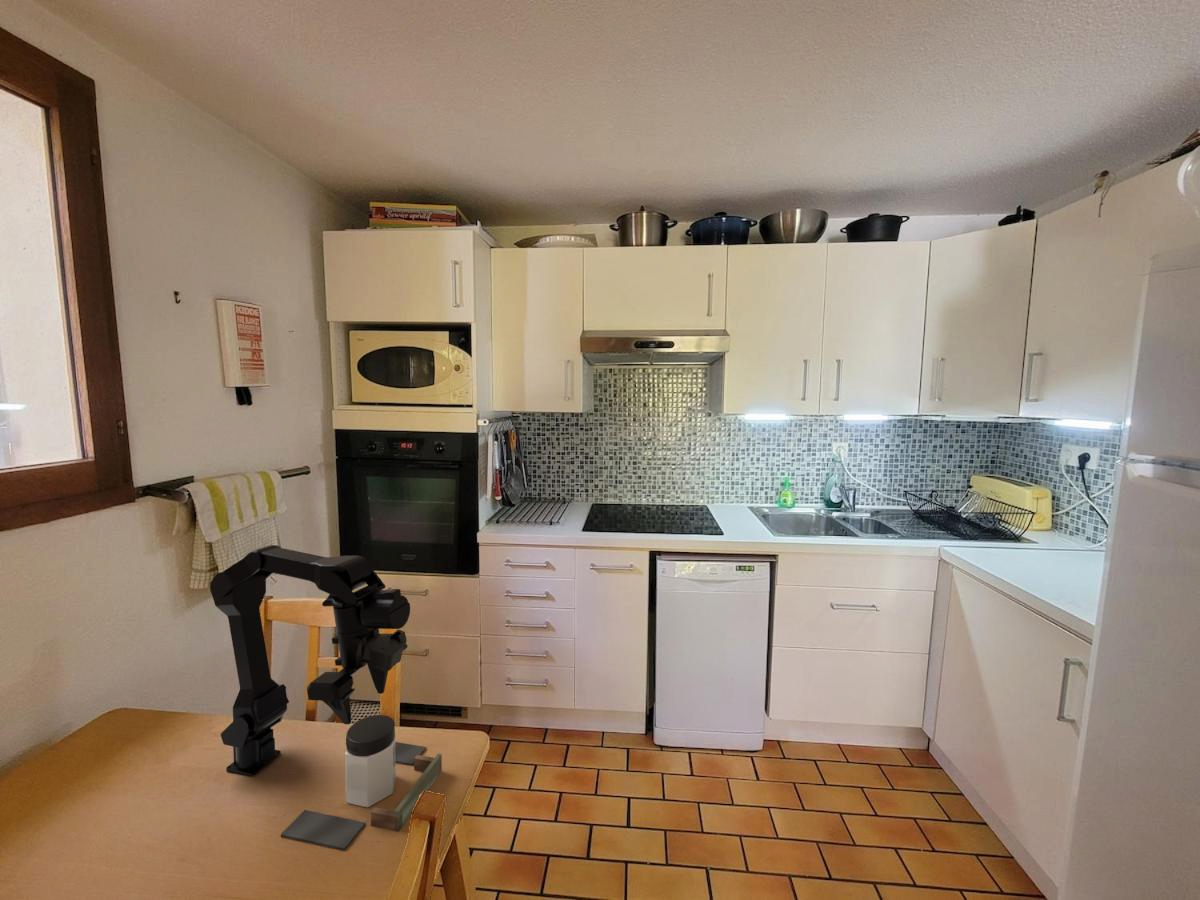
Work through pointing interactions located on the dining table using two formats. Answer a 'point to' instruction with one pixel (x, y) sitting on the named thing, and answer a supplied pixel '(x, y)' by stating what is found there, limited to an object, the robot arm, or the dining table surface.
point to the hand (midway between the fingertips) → (365, 707)
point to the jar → (370, 760)
